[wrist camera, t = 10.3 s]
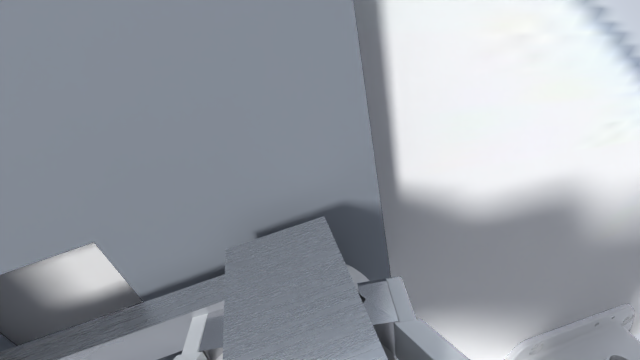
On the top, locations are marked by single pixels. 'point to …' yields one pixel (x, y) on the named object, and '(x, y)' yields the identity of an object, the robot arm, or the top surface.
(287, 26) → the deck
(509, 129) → the top surface
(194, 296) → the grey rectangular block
